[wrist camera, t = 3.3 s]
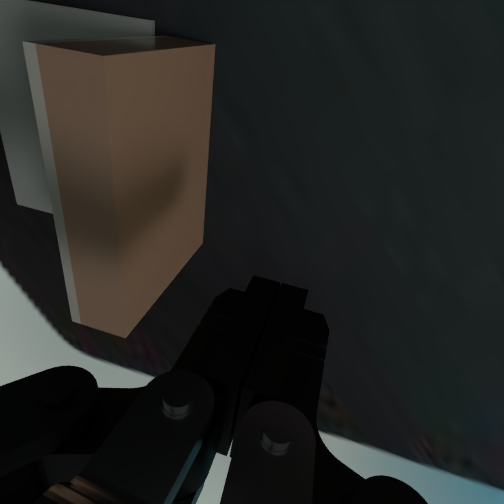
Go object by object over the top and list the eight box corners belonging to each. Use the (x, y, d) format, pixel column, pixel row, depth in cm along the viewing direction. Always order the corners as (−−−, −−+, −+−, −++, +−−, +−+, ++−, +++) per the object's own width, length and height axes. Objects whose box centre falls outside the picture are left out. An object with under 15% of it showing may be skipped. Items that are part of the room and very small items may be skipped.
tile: (164, 35, 17) (22, 41, 10) (215, 44, 16) (103, 55, 10) (164, 232, 22) (72, 321, 15) (202, 242, 22) (125, 338, 15)
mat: (-27, -9, 18) (-33, -9, 18) (154, 20, 16) (151, 20, 16) (21, 202, 24) (17, 204, 23) (157, 238, 22) (154, 241, 22)
